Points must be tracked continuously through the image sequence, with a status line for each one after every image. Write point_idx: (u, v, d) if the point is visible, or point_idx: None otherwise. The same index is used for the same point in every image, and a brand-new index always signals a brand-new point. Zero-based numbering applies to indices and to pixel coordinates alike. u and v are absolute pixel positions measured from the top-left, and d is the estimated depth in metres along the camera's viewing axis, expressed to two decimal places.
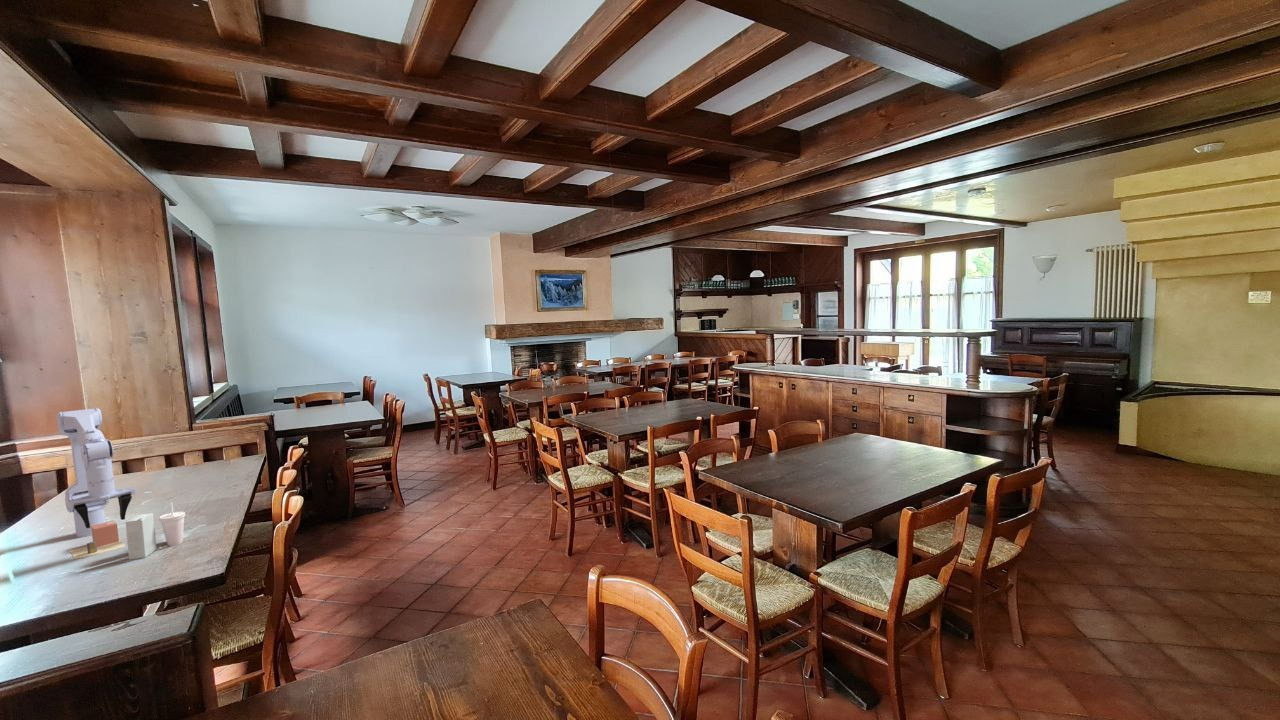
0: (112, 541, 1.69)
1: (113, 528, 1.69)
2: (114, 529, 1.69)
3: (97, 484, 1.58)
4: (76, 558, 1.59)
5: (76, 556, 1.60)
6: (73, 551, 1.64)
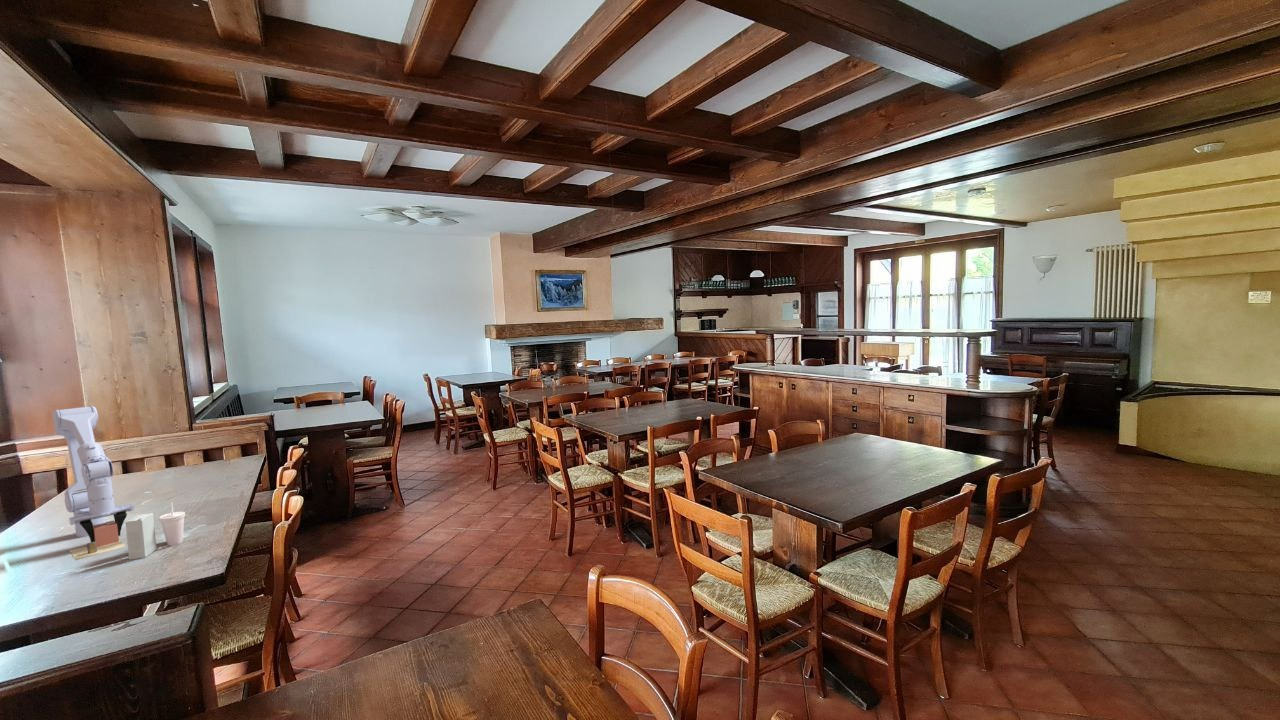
0: (112, 541, 1.69)
1: (113, 528, 1.69)
2: (114, 529, 1.69)
3: (97, 502, 1.66)
4: (76, 558, 1.59)
5: (76, 556, 1.60)
6: (73, 551, 1.64)
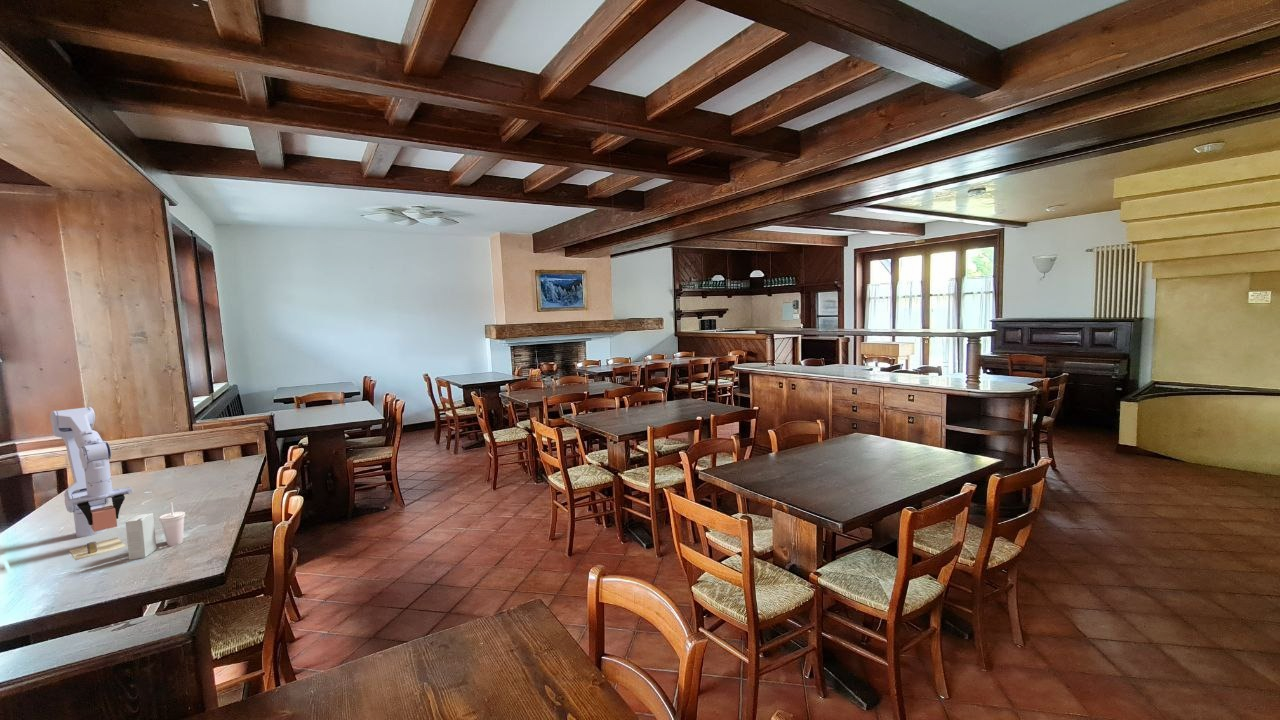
0: (110, 526, 1.69)
1: (111, 513, 1.69)
2: (112, 514, 1.69)
3: (95, 484, 1.66)
4: (76, 558, 1.59)
5: (76, 556, 1.60)
6: (73, 551, 1.64)
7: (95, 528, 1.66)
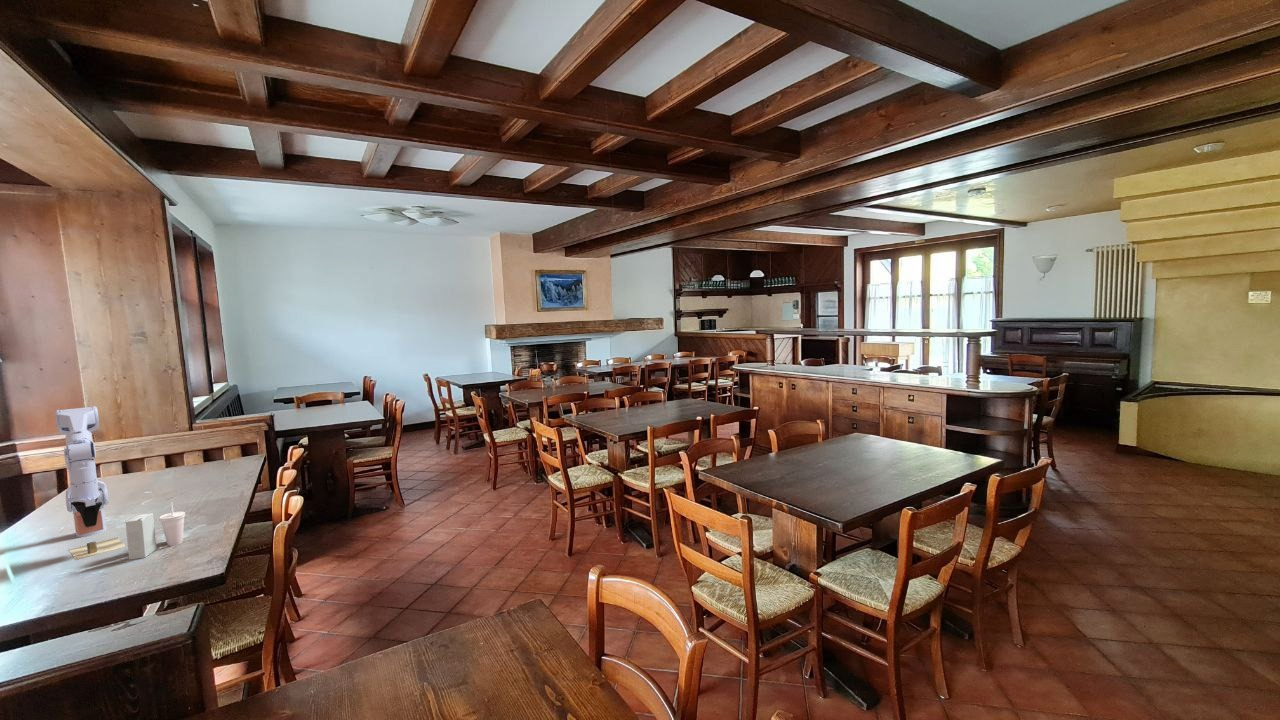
0: (78, 532, 1.59)
1: (76, 519, 1.59)
2: (76, 521, 1.58)
3: None
4: (76, 558, 1.59)
5: (76, 556, 1.60)
6: (73, 551, 1.64)
7: None
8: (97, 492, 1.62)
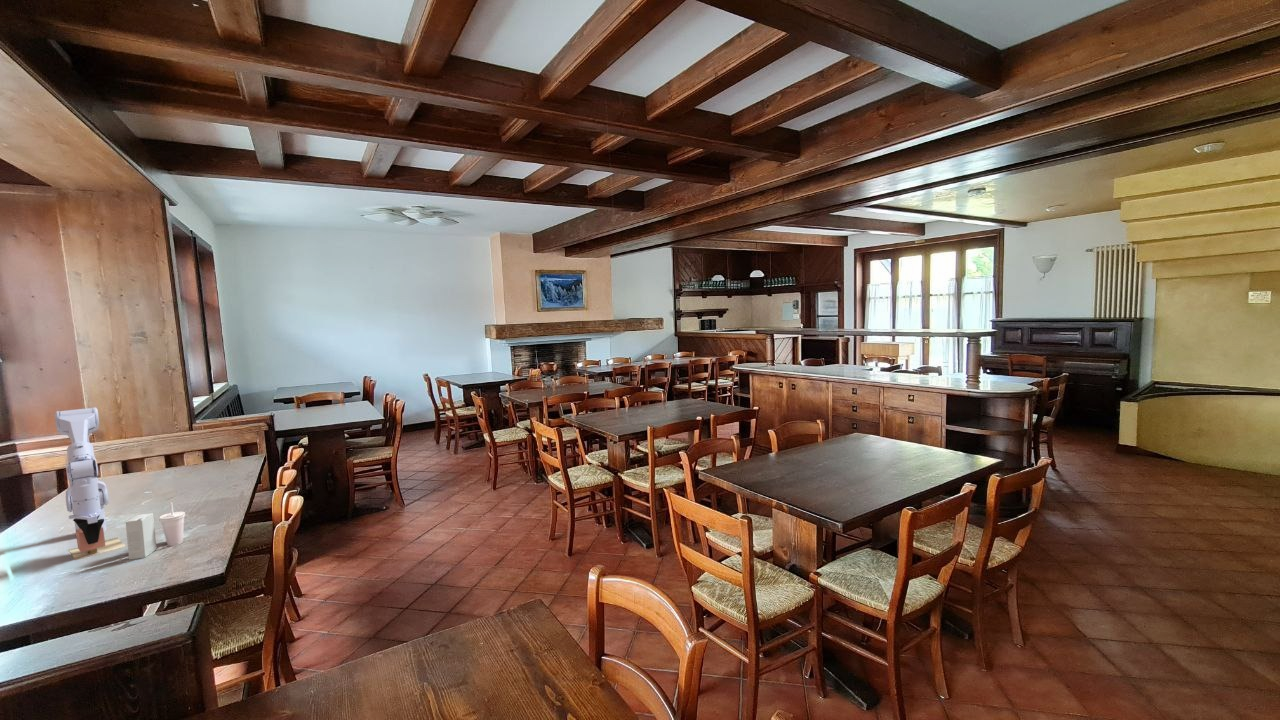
0: (80, 549, 1.60)
1: (78, 536, 1.59)
2: (79, 538, 1.59)
3: None
4: (76, 558, 1.59)
5: (76, 556, 1.60)
6: (73, 551, 1.64)
7: None
8: (99, 509, 1.63)
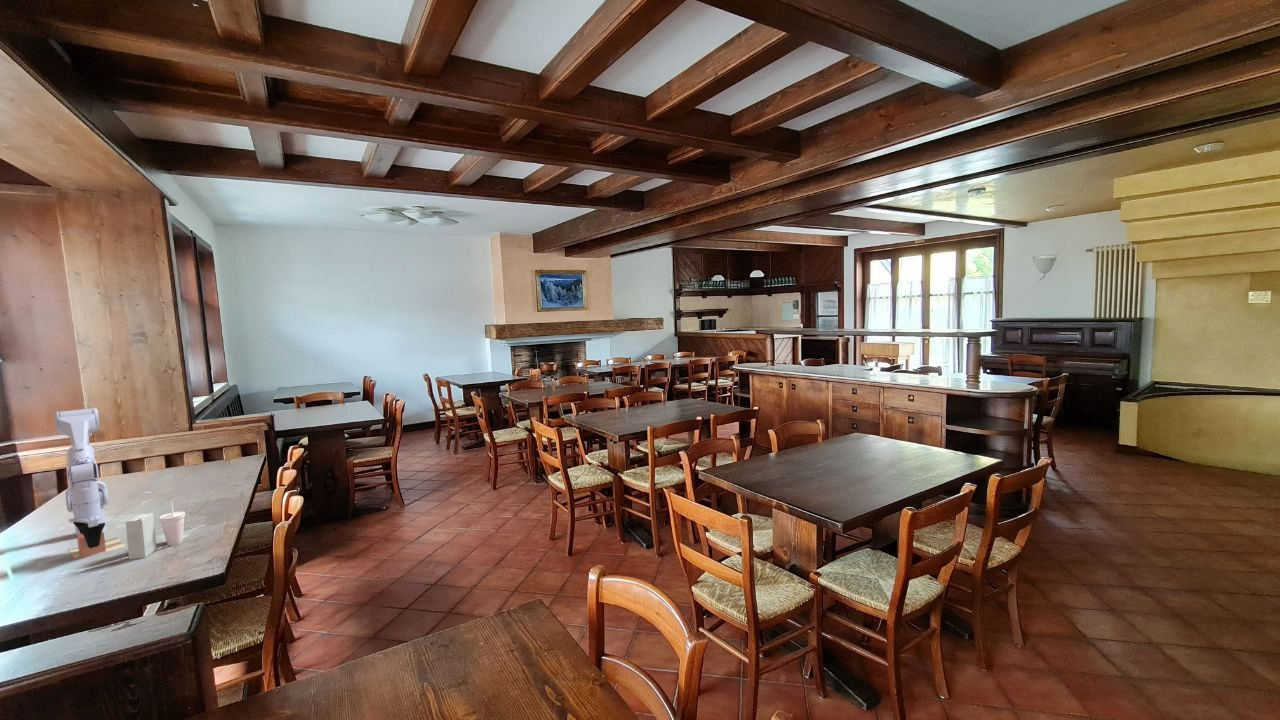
0: (80, 554, 1.60)
1: (79, 541, 1.59)
2: (79, 543, 1.59)
3: None
4: (76, 558, 1.59)
5: (76, 556, 1.60)
6: (73, 551, 1.64)
7: None
8: (99, 512, 1.63)
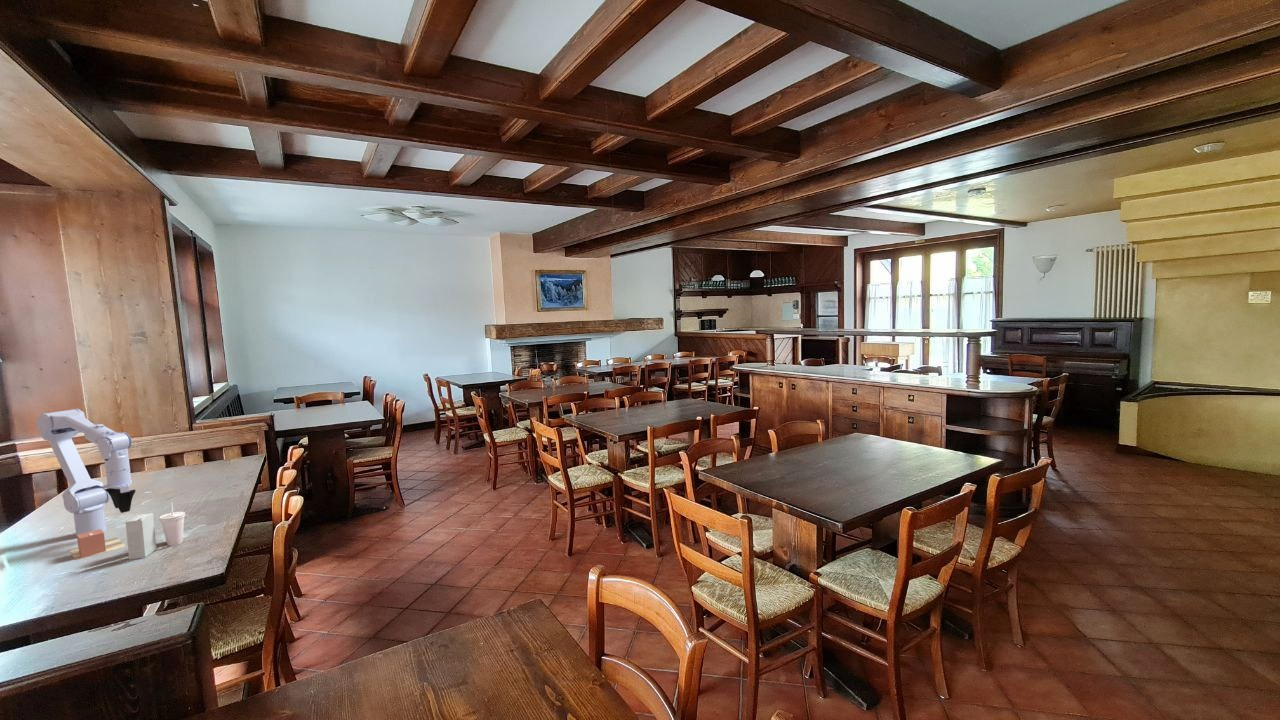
0: (80, 554, 1.60)
1: (79, 541, 1.59)
2: (79, 543, 1.59)
3: None
4: (76, 558, 1.59)
5: (76, 556, 1.60)
6: (73, 551, 1.64)
7: None
8: (130, 480, 1.74)
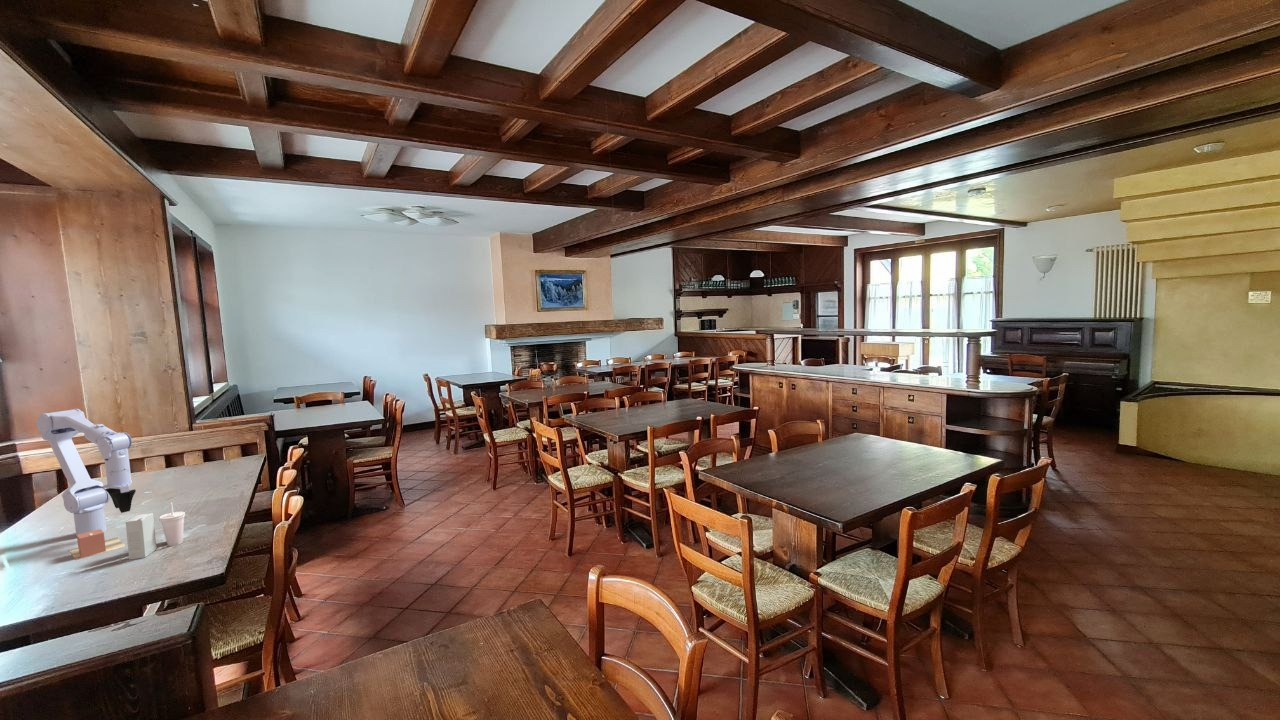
0: (80, 554, 1.60)
1: (79, 541, 1.59)
2: (79, 543, 1.59)
3: None
4: (76, 558, 1.59)
5: (76, 556, 1.60)
6: (73, 551, 1.64)
7: None
8: (130, 480, 1.75)
